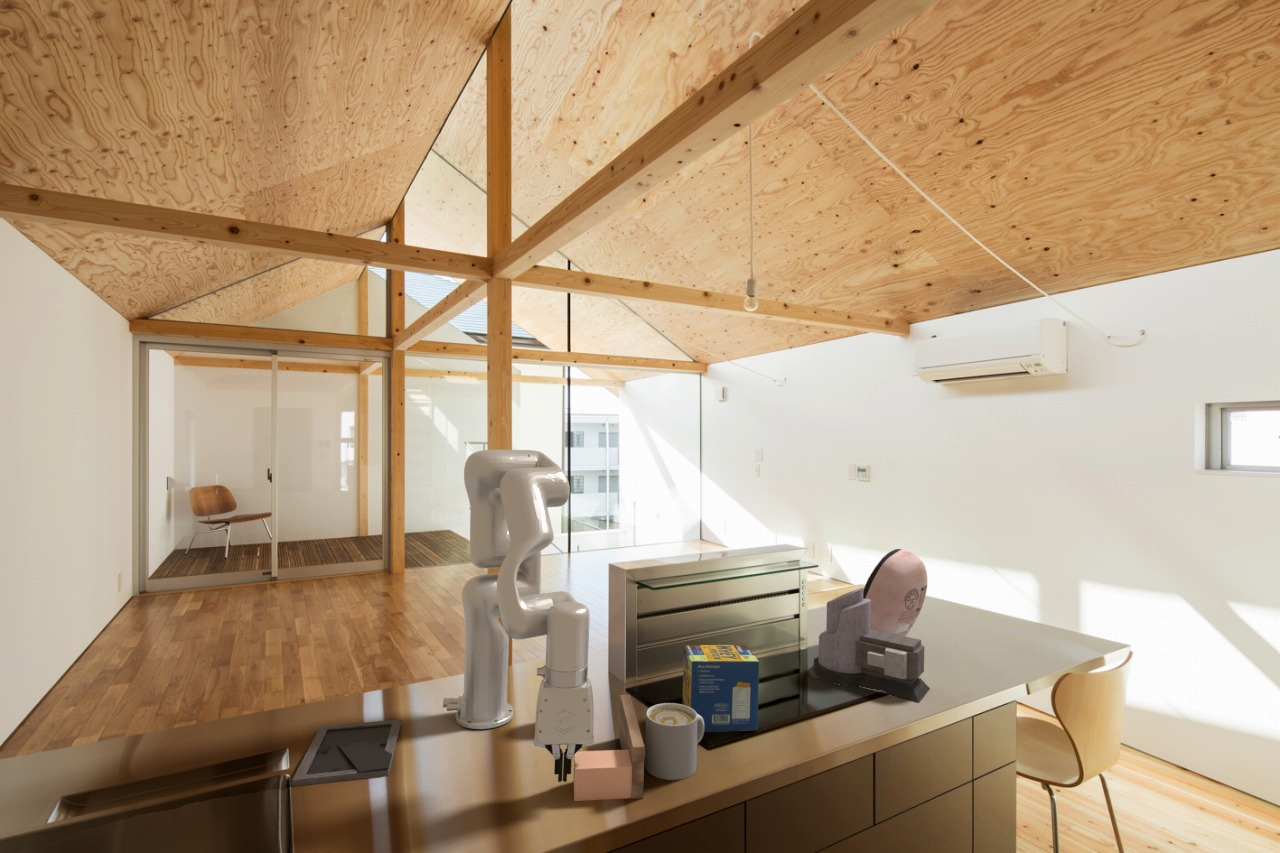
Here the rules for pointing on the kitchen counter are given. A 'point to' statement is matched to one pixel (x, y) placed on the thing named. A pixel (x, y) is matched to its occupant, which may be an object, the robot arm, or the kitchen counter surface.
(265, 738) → the kitchen counter surface
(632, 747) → the walnut board
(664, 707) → the coffee mug
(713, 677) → the protein box
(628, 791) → the brick
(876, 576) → the packaged food
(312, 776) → the picture frame
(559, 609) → the robot arm
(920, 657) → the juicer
